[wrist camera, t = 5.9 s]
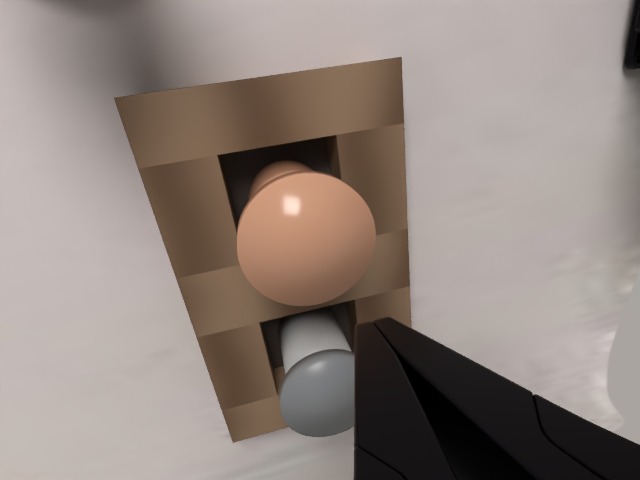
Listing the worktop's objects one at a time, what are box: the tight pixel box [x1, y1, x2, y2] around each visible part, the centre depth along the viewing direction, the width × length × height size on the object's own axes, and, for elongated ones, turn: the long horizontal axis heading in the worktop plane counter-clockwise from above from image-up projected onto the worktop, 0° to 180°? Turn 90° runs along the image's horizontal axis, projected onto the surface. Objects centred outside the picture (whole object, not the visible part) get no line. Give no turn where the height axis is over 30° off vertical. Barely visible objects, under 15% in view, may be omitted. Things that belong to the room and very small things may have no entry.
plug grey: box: [278, 306, 354, 437], centre depth 20 cm, size 5×5×6 cm
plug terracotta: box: [237, 160, 376, 306], centre depth 15 cm, size 5×5×6 cm
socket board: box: [114, 57, 411, 443], centre depth 20 cm, size 12×20×2 cm, turn 8°
